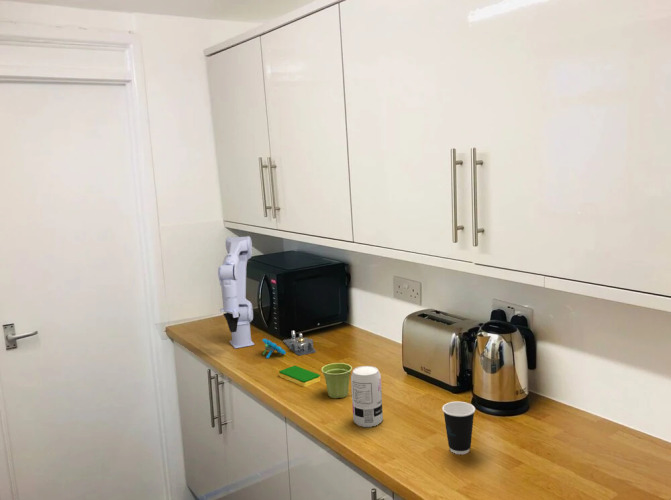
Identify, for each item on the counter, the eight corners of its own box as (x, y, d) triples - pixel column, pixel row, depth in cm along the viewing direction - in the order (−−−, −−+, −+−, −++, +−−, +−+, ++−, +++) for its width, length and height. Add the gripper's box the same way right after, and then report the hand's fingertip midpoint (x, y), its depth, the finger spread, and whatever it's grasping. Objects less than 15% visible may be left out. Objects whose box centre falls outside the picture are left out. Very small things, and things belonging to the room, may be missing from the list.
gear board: (280, 343, 237) (279, 327, 235) (302, 339, 240) (301, 323, 239) (295, 356, 220) (294, 339, 219) (318, 351, 224) (317, 335, 223)
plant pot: (334, 386, 190) (333, 360, 189) (359, 392, 185) (357, 365, 183) (317, 397, 183) (315, 370, 181) (342, 403, 177) (340, 376, 176)
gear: (291, 352, 219) (271, 338, 215) (282, 366, 217) (262, 352, 213) (278, 349, 229) (259, 335, 225) (270, 362, 227) (250, 348, 223)
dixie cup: (479, 445, 148) (479, 404, 146) (470, 460, 142) (470, 417, 140) (449, 439, 152) (448, 399, 150) (439, 454, 145) (437, 412, 143)
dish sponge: (295, 371, 206) (294, 365, 206) (321, 381, 196) (320, 374, 196) (278, 377, 202) (278, 370, 201) (304, 388, 191) (303, 381, 191)
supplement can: (348, 419, 167) (345, 368, 164) (374, 412, 170) (372, 363, 167) (361, 431, 159) (358, 378, 157) (388, 423, 163) (385, 372, 160)
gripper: (215, 294, 225) (218, 328, 227) (223, 302, 211) (227, 338, 214) (233, 291, 227) (236, 325, 230) (242, 299, 214) (246, 335, 216)
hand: (233, 331), depth 222 cm, fingers closed
